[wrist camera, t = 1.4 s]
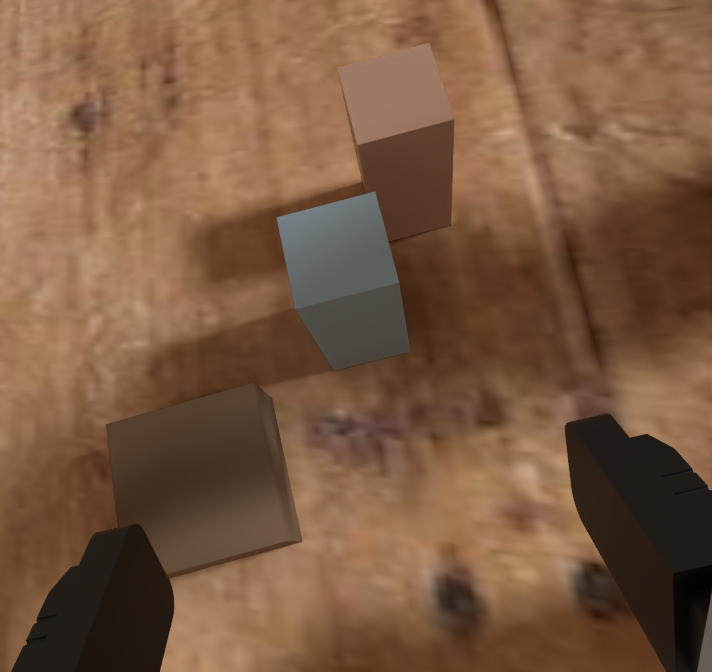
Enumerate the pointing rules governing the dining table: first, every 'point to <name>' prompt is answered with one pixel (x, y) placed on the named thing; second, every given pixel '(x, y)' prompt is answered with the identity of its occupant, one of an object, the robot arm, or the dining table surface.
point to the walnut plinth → (205, 479)
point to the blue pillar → (345, 280)
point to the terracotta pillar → (402, 138)
